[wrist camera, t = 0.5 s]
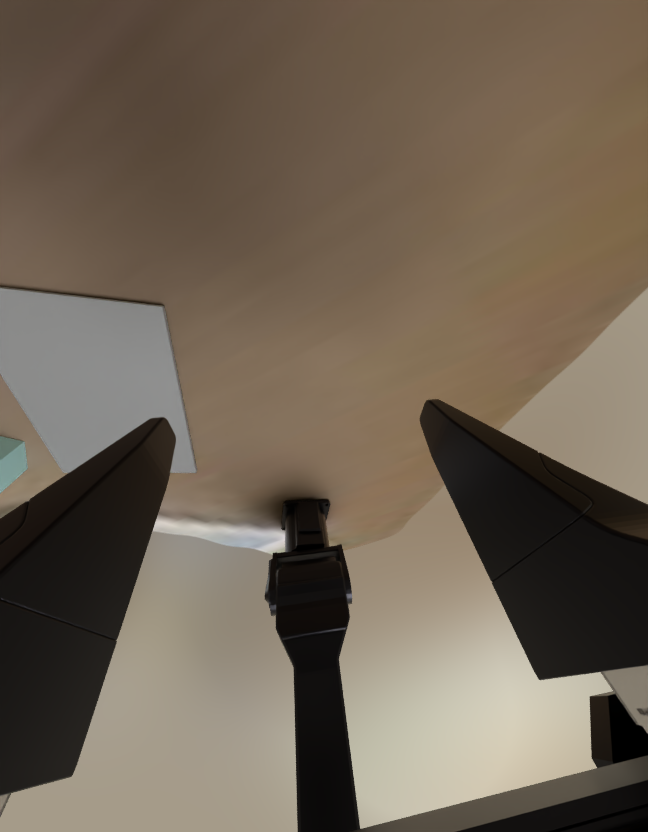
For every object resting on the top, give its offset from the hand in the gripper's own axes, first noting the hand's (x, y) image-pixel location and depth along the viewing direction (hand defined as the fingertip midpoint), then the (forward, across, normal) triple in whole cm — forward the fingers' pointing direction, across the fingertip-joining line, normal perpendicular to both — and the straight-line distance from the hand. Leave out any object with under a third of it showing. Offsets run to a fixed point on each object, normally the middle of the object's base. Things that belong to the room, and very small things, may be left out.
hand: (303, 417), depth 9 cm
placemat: (+14, +17, +8) cm, 24 cm away
